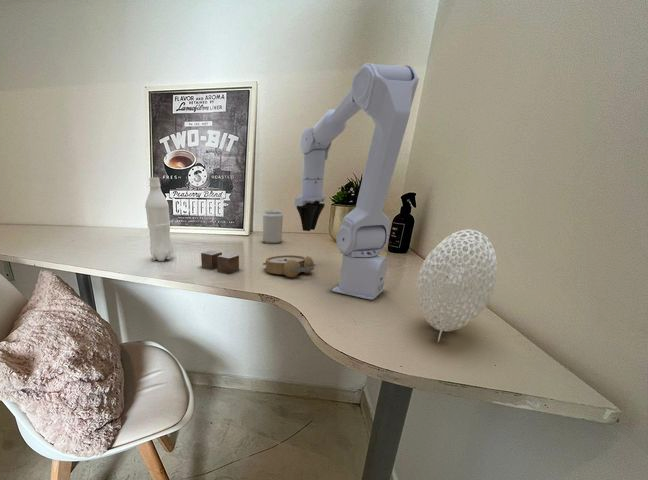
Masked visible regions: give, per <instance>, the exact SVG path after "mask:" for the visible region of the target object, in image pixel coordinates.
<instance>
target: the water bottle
mask: <svg viewBox="0 0 648 480" xmlns="http://www.w3.org/2000/svg"><path fill="white" fill-rule="evenodd" d="M148 178H149V179H148V181H149V183H148V184H149V185H148V186H149V193H148V195H147V198H146V201H145V203H144V204H145V206H144V207H145V212H146V220H147V224H146V225H147V228H148V231H149V238H150V241H149V242H150V243H149V244H150V245H149V251H150V255H151V258H152V259H153V261H158V262H164V261H165V260H168V261H170V260H171V259H172V258H173V253H174V250H173V249H174V248H173V244H172V239H171V220H170V219H171V218H170V208H169V207H170V205H169V202H168V200H167V198H166V196H165V195H164V193H163V192H162V188H161V186H162V184H161V181H160V177H158V176H156V177H155V176H154V177H148Z"/></svg>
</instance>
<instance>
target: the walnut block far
mask: <svg viewBox="0 0 648 480" xmlns="http://www.w3.org/2000/svg"><path fill="white" fill-rule="evenodd" d="M220 255H223V252H221V251H217V250H207V251H203V252H200V258H201V259H200V261H201V263H200V264H201V268H202V269H207V270H210V271H211V270H212V271H213V270H216V269H218V262H217V256H220Z"/></svg>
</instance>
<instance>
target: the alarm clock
mask: <svg viewBox="0 0 648 480" xmlns="http://www.w3.org/2000/svg"><path fill="white" fill-rule="evenodd" d="M262 265H263V266H265V272H266V273H268V274H273V275H274V274H275V275H285V277H287V278H295V277H297V276H298V275H299V274H300V273H304V274H306V275H307V274H310V273H311V272H312V271H314V270H315V267H316V264H314V260H313V259H312V257H311V256H302V255H293V254H289V255H275V256H270V257H267V258H265V262H262Z"/></svg>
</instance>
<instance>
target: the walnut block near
mask: <svg viewBox="0 0 648 480" xmlns="http://www.w3.org/2000/svg"><path fill="white" fill-rule="evenodd" d="M217 262H218V268H217V272H220V273H225V274H233V273H235V272H238V271H240V255H238V254H233V253H229V252H227V253H222V255H220V256H217Z"/></svg>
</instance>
